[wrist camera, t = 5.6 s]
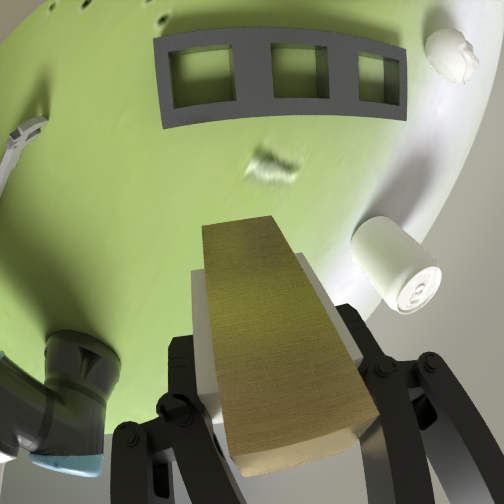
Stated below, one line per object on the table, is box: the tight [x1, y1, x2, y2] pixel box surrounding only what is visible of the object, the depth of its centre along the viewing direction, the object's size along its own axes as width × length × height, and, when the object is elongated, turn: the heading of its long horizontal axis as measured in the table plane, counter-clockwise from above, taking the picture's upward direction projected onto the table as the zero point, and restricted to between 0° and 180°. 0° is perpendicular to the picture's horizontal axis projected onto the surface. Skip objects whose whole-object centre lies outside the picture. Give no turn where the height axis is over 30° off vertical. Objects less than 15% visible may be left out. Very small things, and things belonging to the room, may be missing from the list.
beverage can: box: [350, 216, 442, 314], centre depth 32 cm, size 8×8×12 cm
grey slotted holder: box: [153, 27, 407, 129], centre depth 22 cm, size 9×26×3 cm, turn 94°
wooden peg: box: [202, 215, 380, 477], centre depth 11 cm, size 4×4×12 cm
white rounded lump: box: [425, 29, 479, 85], centre depth 19 cm, size 8×8×8 cm
